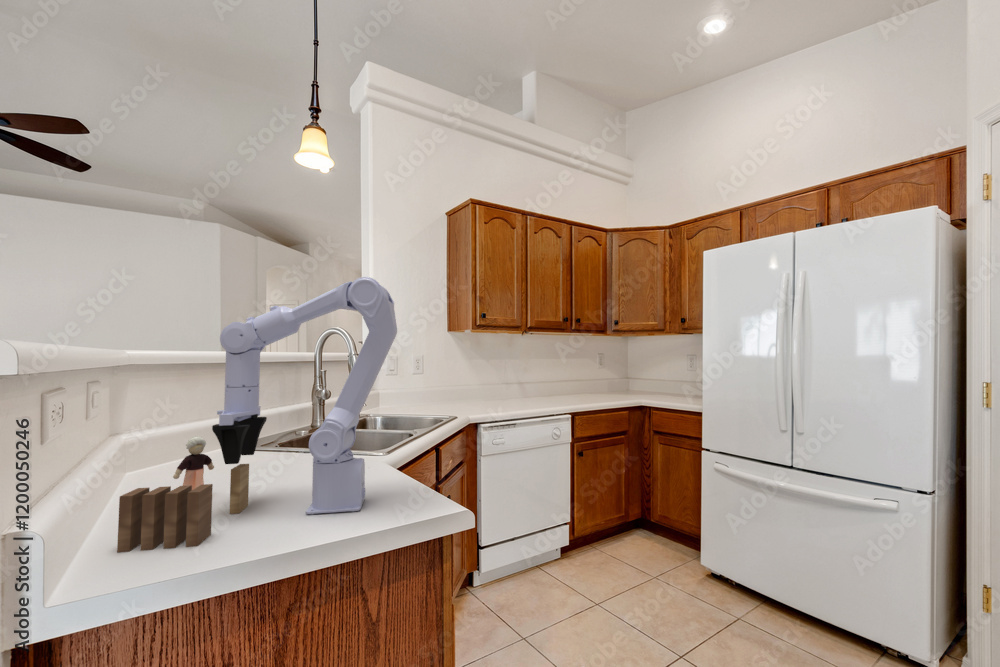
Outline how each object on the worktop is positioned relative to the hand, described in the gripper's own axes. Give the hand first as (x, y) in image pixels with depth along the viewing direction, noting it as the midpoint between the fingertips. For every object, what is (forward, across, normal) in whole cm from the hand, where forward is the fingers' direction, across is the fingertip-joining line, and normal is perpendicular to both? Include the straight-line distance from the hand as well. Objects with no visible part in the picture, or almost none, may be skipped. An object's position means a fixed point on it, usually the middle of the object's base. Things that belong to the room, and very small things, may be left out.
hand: (240, 459), depth 84 cm
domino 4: (+9, +14, 0) cm, 17 cm away
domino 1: (+9, +14, -9) cm, 20 cm away
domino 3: (+9, +14, -4) cm, 18 cm away
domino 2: (+9, +14, -6) cm, 18 cm away
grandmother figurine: (+10, -8, -11) cm, 17 cm away
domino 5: (+9, 0, 0) cm, 9 cm away
